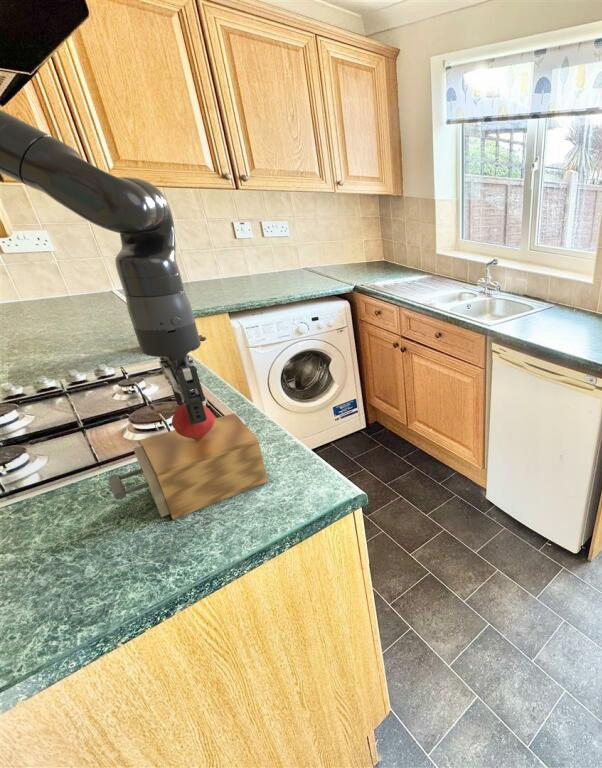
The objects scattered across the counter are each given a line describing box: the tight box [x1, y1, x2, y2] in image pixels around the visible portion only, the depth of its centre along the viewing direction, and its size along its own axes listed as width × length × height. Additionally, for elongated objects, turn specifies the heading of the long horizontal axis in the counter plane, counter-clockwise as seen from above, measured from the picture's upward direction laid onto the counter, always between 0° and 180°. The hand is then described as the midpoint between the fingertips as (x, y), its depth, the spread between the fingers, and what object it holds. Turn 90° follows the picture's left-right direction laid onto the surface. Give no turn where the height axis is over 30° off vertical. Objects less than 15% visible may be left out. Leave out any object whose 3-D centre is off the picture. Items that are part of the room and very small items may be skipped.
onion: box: [171, 403, 215, 440], centre depth 72 cm, size 6×6×8 cm
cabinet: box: [139, 412, 269, 521], centre depth 76 cm, size 15×13×10 cm
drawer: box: [107, 445, 170, 518], centre depth 73 cm, size 18×11×8 cm, turn 137°
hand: (191, 412), depth 71 cm, fingers open, 8 cm apart
